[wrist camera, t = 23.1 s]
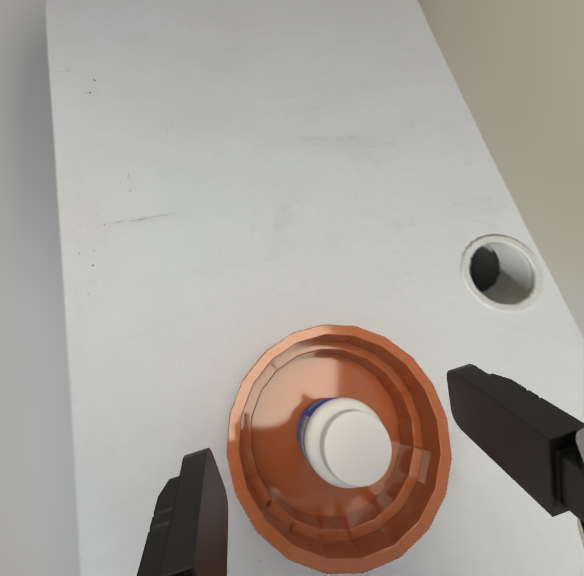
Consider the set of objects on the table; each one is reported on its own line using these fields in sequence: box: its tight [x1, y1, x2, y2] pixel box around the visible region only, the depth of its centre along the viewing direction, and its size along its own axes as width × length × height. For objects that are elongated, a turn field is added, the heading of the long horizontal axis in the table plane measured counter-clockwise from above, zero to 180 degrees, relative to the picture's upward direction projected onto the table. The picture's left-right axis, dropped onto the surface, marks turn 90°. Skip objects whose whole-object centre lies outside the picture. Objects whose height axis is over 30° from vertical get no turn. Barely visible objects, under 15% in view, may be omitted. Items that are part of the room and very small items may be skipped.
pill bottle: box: [296, 397, 392, 488], centre depth 23 cm, size 5×5×10 cm
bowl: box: [227, 325, 452, 574], centre depth 26 cm, size 16×16×6 cm
